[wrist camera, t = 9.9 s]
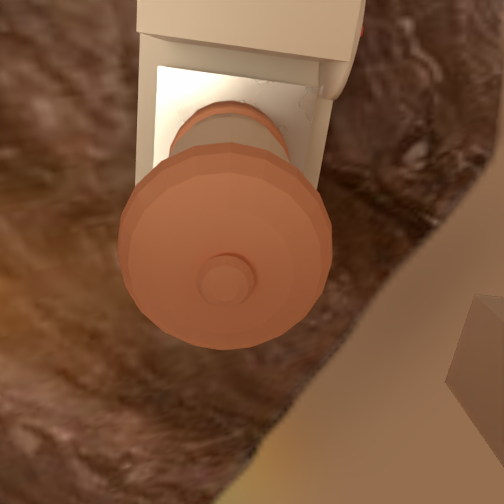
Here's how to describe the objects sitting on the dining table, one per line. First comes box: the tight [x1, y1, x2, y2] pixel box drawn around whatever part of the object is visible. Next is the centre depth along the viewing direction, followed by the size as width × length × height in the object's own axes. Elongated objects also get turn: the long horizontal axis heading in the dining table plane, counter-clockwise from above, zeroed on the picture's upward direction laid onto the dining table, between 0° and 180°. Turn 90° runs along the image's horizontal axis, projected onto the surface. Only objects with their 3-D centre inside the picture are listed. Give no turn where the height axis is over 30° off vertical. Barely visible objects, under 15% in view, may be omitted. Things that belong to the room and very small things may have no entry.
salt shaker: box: [117, 100, 333, 350], centre depth 21 cm, size 7×7×19 cm
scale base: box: [135, 0, 366, 190], centre depth 28 cm, size 18×13×12 cm
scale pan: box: [153, 66, 318, 175], centre depth 31 cm, size 10×10×1 cm
